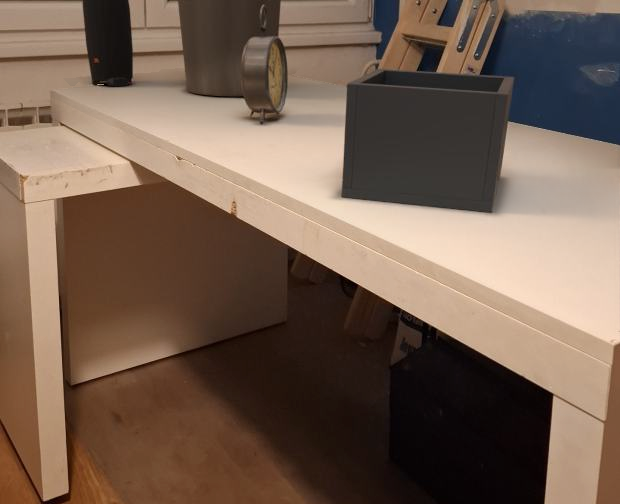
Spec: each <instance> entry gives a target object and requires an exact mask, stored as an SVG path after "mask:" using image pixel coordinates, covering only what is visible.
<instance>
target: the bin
mask: <svg viewBox="0 0 620 504" xmlns="http://www.w3.org/2000/svg"><path fill="white" fill-rule="evenodd" d="M514 83H515V77H514V76H504V75H488V74H487V75H486V74H473V73H472V74H471V73H469V74H468V73H455V72H437V71H421V70H405V69H390V68H389V69H388V68H387V69H386V68H377V69H375V70H373V71H370V72H369V73H367V74H364V75H362V76H361V77H359V78H356V79H354V80H352V81H350V82H349V83H346V98H345V101H346V102H345V120H344V121H345V122H344V138H343V139H344V141H343V159H342V161H343V162H342V179H341V180H342V181H341V187H342V188H341V198H347V199H358V200H367V201H375V202H376V201H377V202H387V203H397V204H404V205H416V206H423V207H433V208H434V207H435V208H443V209H454V210H462V211H463V210H464V211H473V212H483V213H492V211H493V209H494V205H495V200H496V196H497V192H498V188H499V184H500V180H501V175H502V169H503V168H502V167H503V161H504V153H505V147H506V140H507V132H508V125H509V120H510V119H509V118H510V117H509V116H510V110H511V106H512V105H511V104H512V97H513V89H514Z"/></svg>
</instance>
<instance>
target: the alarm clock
mask: <svg viewBox="0 0 620 504" xmlns="http://www.w3.org/2000/svg"><path fill="white" fill-rule="evenodd" d="M263 7H264V13H265V21H264V25H262V21H261V18H262V10H263ZM266 19H267V13H266V7H265V5H262V7H261V10H260V30H261V36H260V37H252V38H251V39H249V40H248V42H247V43H246V45H245V47H244V50H243V54H242V59H241V77H240V80H241V86H242V92H243V96H242V97H243V99H244V102H245V105H246V106H247V108H248V109H249V110H250V115H249V118H252V116H253V114H260V120H259V124H260V125H264V123H265V120H264V119H265V117H266V114H275V115H277V116H278V115H280V112H282V110H283V109H284V106H285V104H286V100H287V94H288V83H289V82H288V81H289V80H288V79H289V77H288V73H289V72H288V59H287V53H286V49H285V45H284V42H283V41H282V39H281V37H279V36H278V37H277V36H271V37H267V35H266Z"/></svg>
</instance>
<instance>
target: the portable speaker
mask: <svg viewBox="0 0 620 504" xmlns="http://www.w3.org/2000/svg"><path fill="white" fill-rule="evenodd" d="M82 12H83V25H84V34H85V35H84V37H85V46H86V52H87V59H88V65H89V71H90V76H91V77H90V78H91V83H92V84H93V85H94V86H95V85H97V84H98V83H101V82H102V83H103V82H105V83H106V85H107V86H108V87H123V86H124V87H127V86H129V84H131V83H132V80H133V79H134V54H133V53H134V48H133V47H134V46H133V33H132V19H131V7H130V1H129V0H82Z"/></svg>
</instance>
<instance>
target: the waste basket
mask: <svg viewBox="0 0 620 504" xmlns="http://www.w3.org/2000/svg"><path fill="white" fill-rule="evenodd" d="M281 2H282V0H177V7H178V15H179V16H178V17H179V25H180V35H181V36H180V37H181V45H182V55H183V63H184V64H183V65H184V75H185V85H186V91H187V92H188V93H191V94H196V95H203V96H212V97H213V96H214V97H215V96H216V97H244V96H243V92H242V86H241V80H240V77H241V59H242V54H243V50H244V47H245V45H246V43H247V42H248V40H249V39H251V38H252V37H260V36H261V30H260V10H261V7H262V5H265V7H266V13H267V19H266V35H267V37H271V36H277V37H279V34H280V19H281ZM261 21H262V25H264V21H265V13H264V7H263V10H262V18H261Z"/></svg>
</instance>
